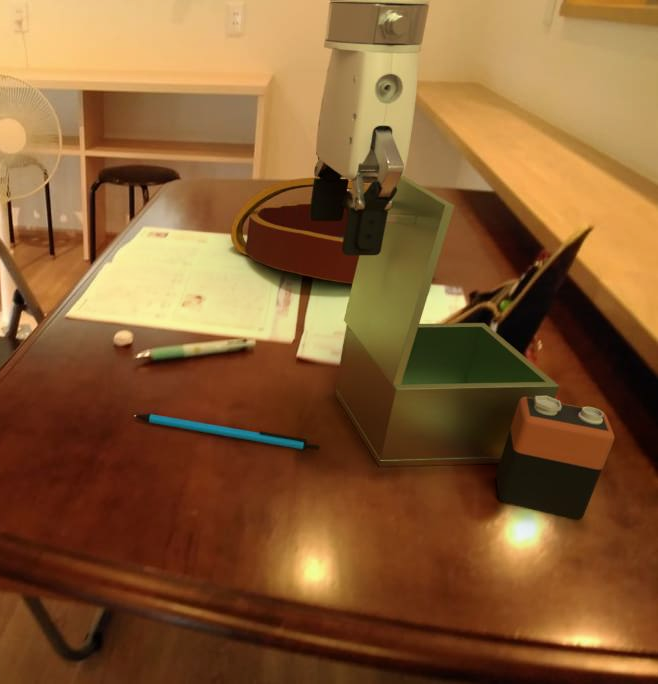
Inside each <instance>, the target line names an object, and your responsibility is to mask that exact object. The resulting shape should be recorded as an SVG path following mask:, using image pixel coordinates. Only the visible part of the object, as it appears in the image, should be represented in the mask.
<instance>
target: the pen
mask: <svg viewBox="0 0 658 684" xmlns="http://www.w3.org/2000/svg"><path fill="white" fill-rule="evenodd" d="M133 416H134V417H135V418H137V419H140V420H142V421H145V422H146V423H149V424H154V425H160V426H167V427H173V428H178V429H183V430H189V431H195V432H201V433H207V434H213V435H219V436H224V437H228V438H236V439H241V440H246V441H253V442H258V443H262V444H263V443H264V444H270V445H275V446H281V447H286V448H292V449H298V450H302V451H303V450H305V451H306V450H307V449H313V450H320V445H316V444H311V443H308V440H307V438H301V437H298V436H297V437H296V436H290V435H285V434H279V433H274V432H268V431H262V430H259V432H257V431H251V430H245V429H239V428H235V427H234V428H233V427H228V426H222V425H216V424H210V423H205V422H198V421H192V420H186V419H181V418H175V417H170V416H164V415H157V414H152V413H146V414H134V415H133Z"/></svg>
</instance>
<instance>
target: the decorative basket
mask: <svg viewBox="0 0 658 684" xmlns="http://www.w3.org/2000/svg"><path fill="white" fill-rule="evenodd" d="M314 179H320V178H315V177H302V178H295V179H290V180H286V181H281V182H279V183H276V184H273V185H271V186H268V187H266V188H264V189H262V190H260V191H259V192H257V193H256V194H254V195H253V196H252V197H251V198H250V199H248V200H247V201H246V202H245V203H244V205H243V206H241V208H240V209H239V211H238V212H237V214H236V216H235V218H234V219H233V222H232V225H231V227H230V239H231V242H232V245H233V246H234V248H235V249H236V250H237V251H238V252H239V253H241V254H243V255H246V256H249V257H250V258H252V259H253V260H255V261H256V262H258V263H260V264H263V265H264V266H265V265H266V266H268V267H270V268H275V269H276V270H277V269H278V270H282V271H284V272H285V271H286V272H289V273H295V274H298V275H301V276H307V277H311V278H316V279H320V280H326V281H332V282H338V283H346V284H353V280H354V276H355V272H356V268H357V264H358V260H359V256H360V255H345V254H344V253H343V252H342V245H343V238H344V232H345V226H346V220H347V213H348V211H347V210H346V209H345V208H344V213H343V218H342V220H340V221H312V220H311V219H310V218H309V213H310V205H311V201H309V202H307V201H306V202H305V201H304V202H292V203H285V204H284V203H283V204H275V205H263V204H264V203H266V202H267V201H269V200H271V199H273V198H274V197H276V196H279V195H280V194H283V193H287V192H289V191H293V190H296V189H302V188H310V187H312V188H313V183H314ZM363 184H364V193H365V192H366V190H367V189H368V188H369V186H370V185H368V184H366V183H363ZM347 189H348V190H352V185H351V180H349V181H348V188H347ZM247 219H248V228H247V236H246V239H245V237H244V233H243V231H244V229H243V228H244V224H245V223H246V220H247Z"/></svg>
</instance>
